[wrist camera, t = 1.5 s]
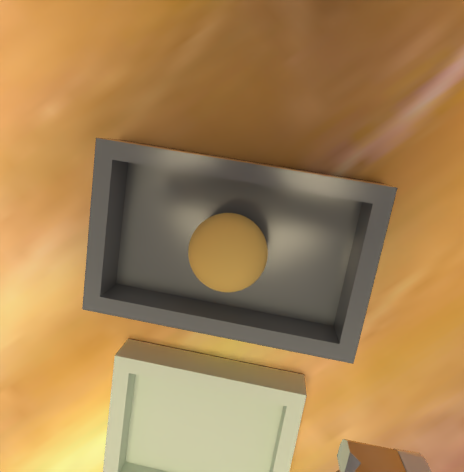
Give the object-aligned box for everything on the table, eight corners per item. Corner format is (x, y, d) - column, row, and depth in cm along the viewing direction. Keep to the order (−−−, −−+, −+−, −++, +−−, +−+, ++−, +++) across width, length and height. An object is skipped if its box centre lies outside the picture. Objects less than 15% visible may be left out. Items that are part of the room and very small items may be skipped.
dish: (117, 139, 24) (96, 137, 21) (382, 183, 23) (397, 187, 20) (103, 291, 27) (82, 309, 24) (344, 339, 25) (353, 363, 22)
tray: (128, 338, 27) (114, 355, 25) (304, 374, 26) (306, 395, 24) (114, 461, 29) (101, 487, 27) (276, 498, 28) (276, 528, 26)
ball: (202, 202, 24) (185, 212, 20) (274, 214, 24) (274, 228, 19) (192, 271, 25) (174, 295, 21) (261, 284, 25) (258, 311, 20)
